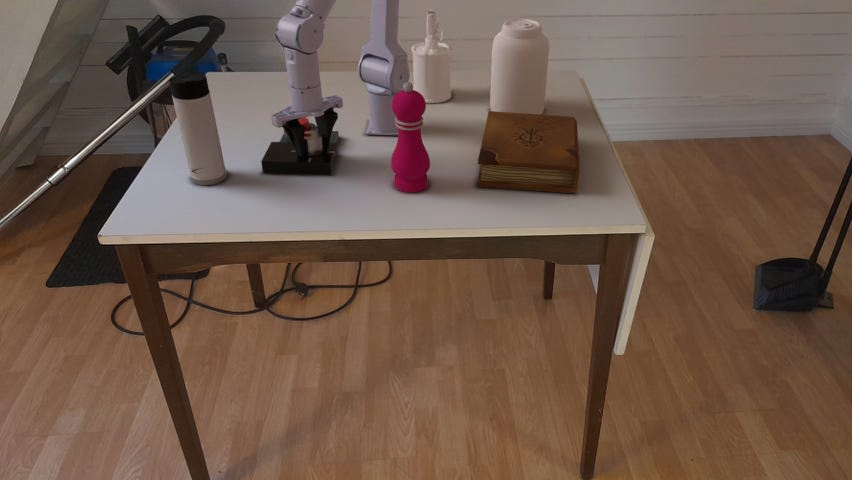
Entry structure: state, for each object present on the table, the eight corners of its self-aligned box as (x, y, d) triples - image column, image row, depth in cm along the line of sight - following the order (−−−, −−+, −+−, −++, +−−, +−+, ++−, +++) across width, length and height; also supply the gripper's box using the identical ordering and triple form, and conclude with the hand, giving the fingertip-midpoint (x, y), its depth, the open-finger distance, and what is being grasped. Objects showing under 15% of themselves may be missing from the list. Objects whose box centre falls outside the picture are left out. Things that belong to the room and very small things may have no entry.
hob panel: (338, 154, 142) (337, 142, 140) (332, 175, 135) (330, 162, 134) (273, 153, 142) (271, 140, 140) (263, 173, 135) (261, 160, 133)
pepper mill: (415, 198, 129) (412, 93, 117) (384, 187, 132) (378, 84, 120) (437, 182, 134) (437, 80, 122) (407, 172, 137) (403, 72, 125)
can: (553, 108, 164) (561, 21, 153) (527, 126, 156) (533, 35, 144) (507, 96, 170) (511, 11, 158) (479, 113, 161) (482, 24, 149)
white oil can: (418, 86, 173) (416, 2, 161) (455, 90, 171) (456, 6, 160) (406, 103, 164) (403, 15, 153) (445, 107, 163) (445, 19, 151)
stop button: (311, 126, 145) (310, 117, 144) (307, 134, 142) (306, 124, 141) (293, 126, 145) (292, 116, 144) (290, 133, 142) (288, 124, 141)
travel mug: (195, 189, 129) (170, 84, 117) (189, 173, 134) (164, 71, 122) (230, 182, 132) (209, 78, 120) (223, 167, 136) (202, 66, 125)
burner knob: (325, 147, 139) (323, 129, 136) (321, 156, 135) (319, 138, 133) (304, 147, 139) (302, 128, 136) (300, 156, 135) (298, 137, 133)
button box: (339, 137, 149) (337, 122, 147) (333, 152, 143) (332, 136, 141) (286, 136, 148) (284, 120, 146) (279, 151, 143) (276, 135, 141)
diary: (576, 194, 132) (580, 166, 129) (477, 187, 133) (478, 159, 130) (574, 141, 151) (577, 115, 147) (487, 135, 152) (488, 110, 148)
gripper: (282, 100, 122) (292, 169, 130) (350, 80, 131) (355, 146, 139) (260, 88, 126) (271, 156, 134) (327, 69, 135) (334, 135, 143)
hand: (312, 150), depth 137 cm, fingers open, 5 cm apart
